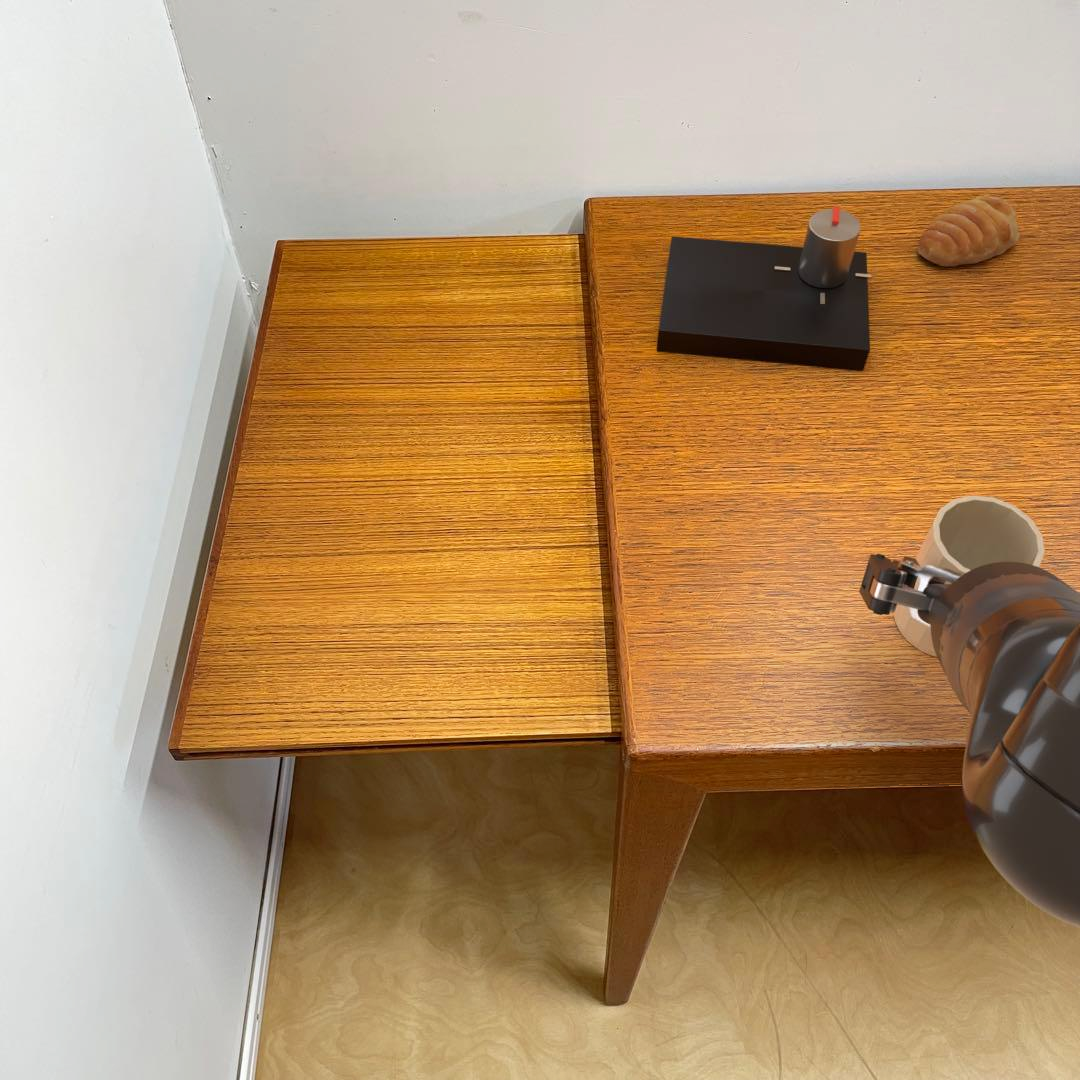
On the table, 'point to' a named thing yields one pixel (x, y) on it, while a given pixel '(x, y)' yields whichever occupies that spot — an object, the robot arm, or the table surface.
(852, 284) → the hob
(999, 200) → the pastry
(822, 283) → the knob
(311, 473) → the table surface
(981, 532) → the cup
